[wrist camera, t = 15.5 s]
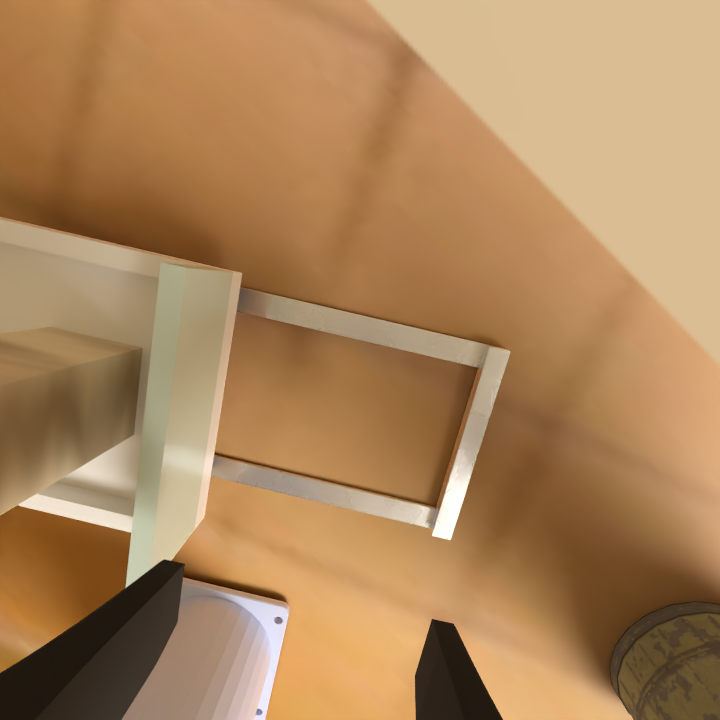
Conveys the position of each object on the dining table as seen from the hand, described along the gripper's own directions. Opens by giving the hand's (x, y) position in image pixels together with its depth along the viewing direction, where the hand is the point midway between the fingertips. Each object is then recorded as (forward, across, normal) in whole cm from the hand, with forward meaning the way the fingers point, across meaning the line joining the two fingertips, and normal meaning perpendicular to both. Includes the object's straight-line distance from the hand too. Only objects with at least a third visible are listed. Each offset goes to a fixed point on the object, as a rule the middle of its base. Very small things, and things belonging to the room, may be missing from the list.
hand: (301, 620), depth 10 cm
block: (+6, +11, -3) cm, 13 cm away
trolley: (+10, +12, -3) cm, 15 cm away
